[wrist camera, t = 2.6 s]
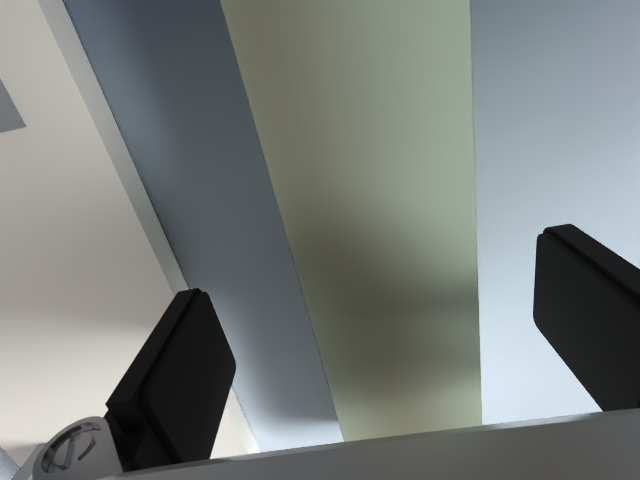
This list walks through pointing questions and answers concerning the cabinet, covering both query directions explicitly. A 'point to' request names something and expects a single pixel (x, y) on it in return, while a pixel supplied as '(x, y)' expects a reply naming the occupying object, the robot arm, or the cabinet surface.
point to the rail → (375, 196)
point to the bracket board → (72, 242)
